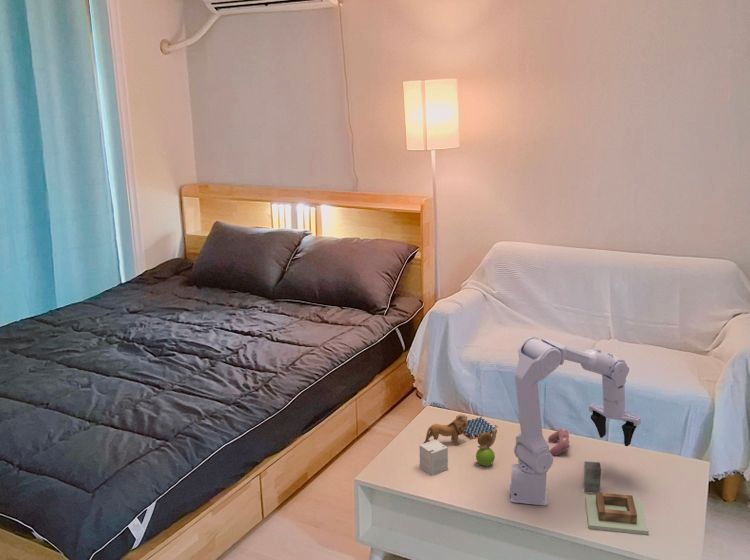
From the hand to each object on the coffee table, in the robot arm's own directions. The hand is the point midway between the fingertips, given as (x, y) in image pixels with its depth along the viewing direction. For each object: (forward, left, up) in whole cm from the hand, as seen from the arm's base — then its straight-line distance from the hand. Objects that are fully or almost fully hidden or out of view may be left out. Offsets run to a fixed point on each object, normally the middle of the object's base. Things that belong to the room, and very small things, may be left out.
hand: (615, 440), depth 198 cm
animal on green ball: (-35, -1, -11) cm, 37 cm away
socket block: (-1, -21, -10) cm, 24 cm away
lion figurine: (-49, +10, -11) cm, 51 cm away
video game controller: (-15, +12, -11) cm, 22 cm away
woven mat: (-40, +20, -11) cm, 46 cm away
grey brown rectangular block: (-6, -9, -11) cm, 15 cm away
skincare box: (-50, -6, -11) cm, 52 cm away
